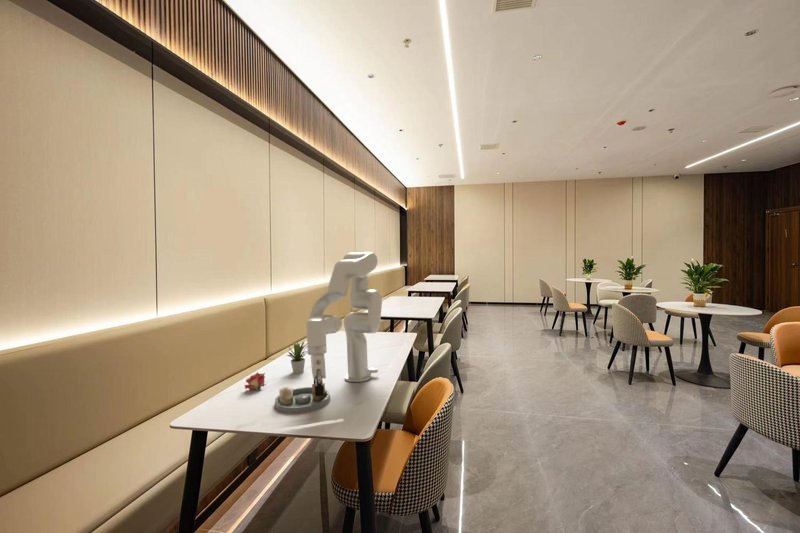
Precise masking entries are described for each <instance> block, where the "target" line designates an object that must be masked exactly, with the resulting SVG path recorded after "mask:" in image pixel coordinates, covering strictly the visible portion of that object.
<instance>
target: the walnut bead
mask: <svg viewBox="0 0 800 533" xmlns="http://www.w3.org/2000/svg"><path fill="white" fill-rule="evenodd" d="M315 386H316V383H314V382H313V384H311V387H312V396H313V401H314V402H320V401H321V400H323V399H325V389H326V384H325V383H324V382H323V387H324V395H323V396H315Z"/></svg>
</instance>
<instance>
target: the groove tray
mask: <svg viewBox="0 0 800 533" xmlns="http://www.w3.org/2000/svg"><path fill="white" fill-rule="evenodd" d="M330 401H331V394H330V390H328V389H326V388H325V399H323V400H321V401H320V402H314V401H313V396H312V386H307V387H305V386H304V387H297V388H293V404H292V405H290V406H283V405H280V395H278V396H277V397H275V400H274V408H275V409H276V410H277V411H278V412H280V413H283V414H302V413H309V412H312V411H313V412H314V411H316V410H318V409H321V408H323V407H325V406H326V405H328V404H329V402H330Z"/></svg>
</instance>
